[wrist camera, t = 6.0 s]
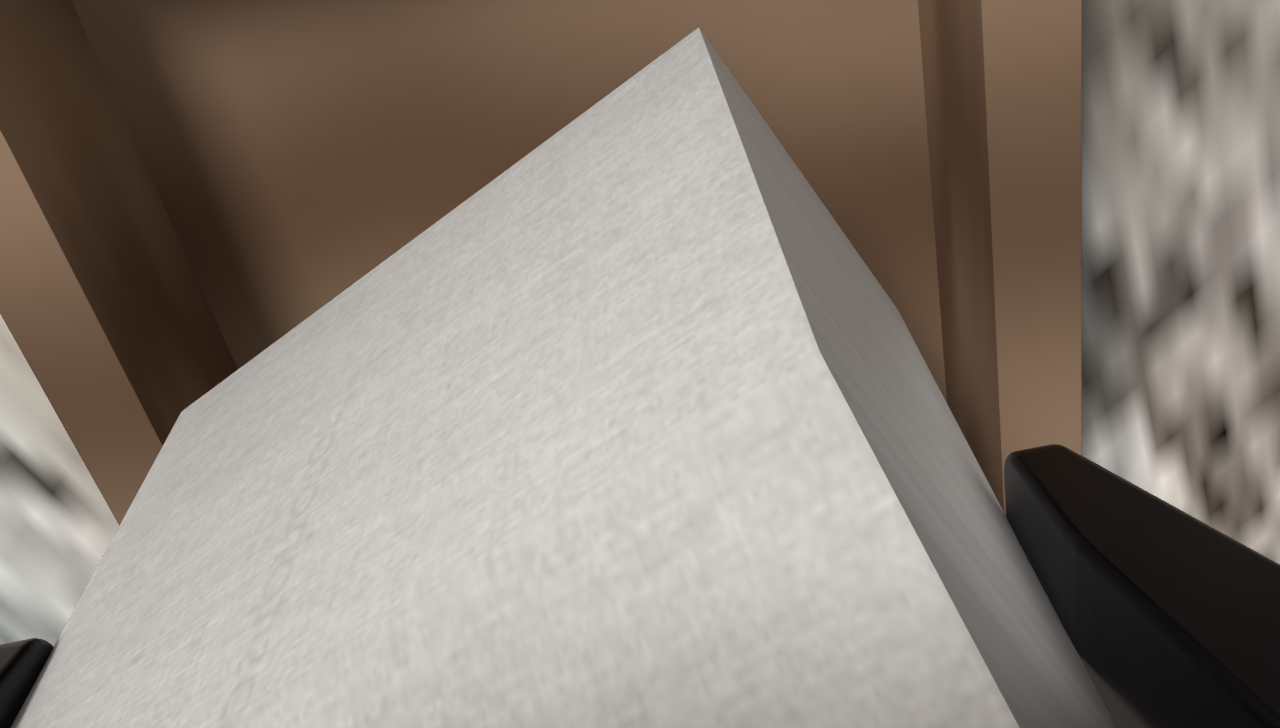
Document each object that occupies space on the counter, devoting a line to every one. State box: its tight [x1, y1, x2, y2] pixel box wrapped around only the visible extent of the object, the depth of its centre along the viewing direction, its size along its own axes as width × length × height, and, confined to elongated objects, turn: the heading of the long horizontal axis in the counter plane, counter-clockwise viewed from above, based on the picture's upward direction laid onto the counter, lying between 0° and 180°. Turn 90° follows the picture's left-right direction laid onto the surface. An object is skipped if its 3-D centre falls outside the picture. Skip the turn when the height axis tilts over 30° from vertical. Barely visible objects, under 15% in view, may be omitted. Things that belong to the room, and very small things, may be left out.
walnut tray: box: [0, 0, 1082, 526], centre depth 15 cm, size 14×12×4 cm
